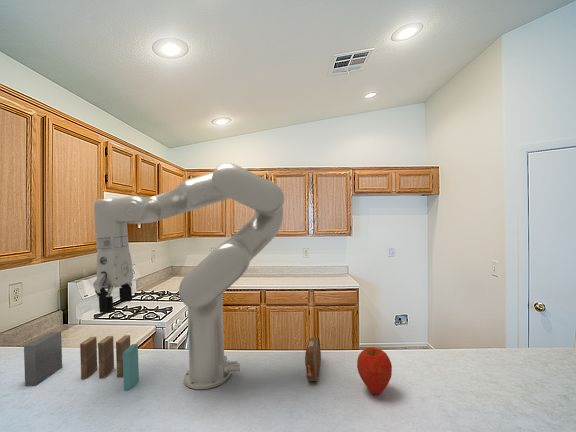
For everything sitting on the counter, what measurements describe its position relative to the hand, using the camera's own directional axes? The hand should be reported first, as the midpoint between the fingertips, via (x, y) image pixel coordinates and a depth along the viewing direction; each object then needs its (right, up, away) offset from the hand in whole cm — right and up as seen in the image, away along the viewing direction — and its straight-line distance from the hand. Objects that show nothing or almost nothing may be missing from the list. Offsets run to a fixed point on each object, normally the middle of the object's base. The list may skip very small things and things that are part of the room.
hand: (117, 306), depth 82 cm
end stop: (-24, -22, +6) cm, 33 cm away
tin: (+54, -20, +3) cm, 58 cm away
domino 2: (-7, -22, +6) cm, 24 cm away
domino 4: (+4, -21, 0) cm, 22 cm away
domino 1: (-12, -22, +6) cm, 25 cm away
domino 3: (-2, -22, +7) cm, 22 cm away
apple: (+68, -20, -7) cm, 71 cm away
